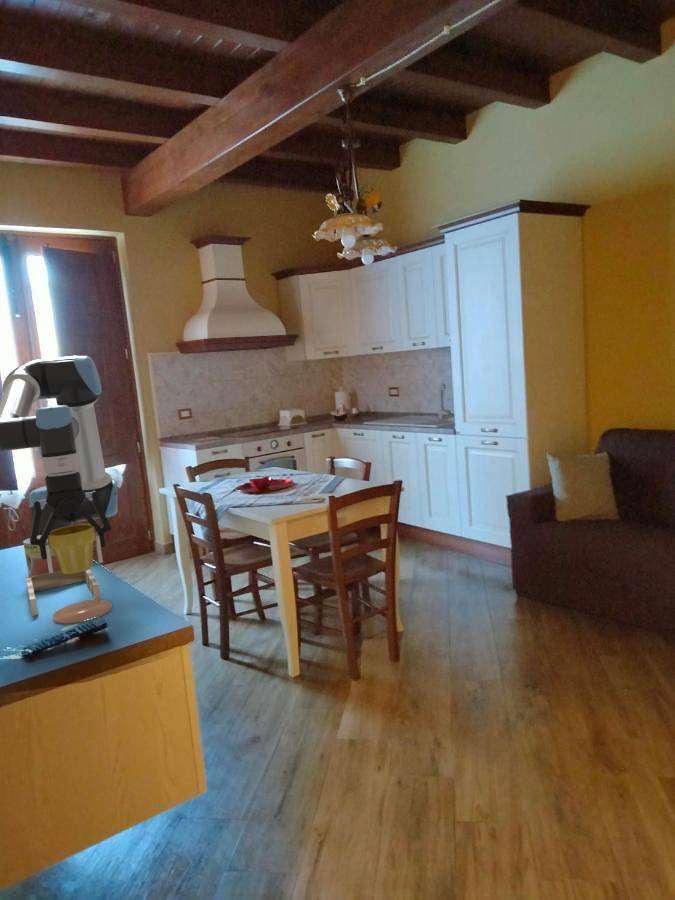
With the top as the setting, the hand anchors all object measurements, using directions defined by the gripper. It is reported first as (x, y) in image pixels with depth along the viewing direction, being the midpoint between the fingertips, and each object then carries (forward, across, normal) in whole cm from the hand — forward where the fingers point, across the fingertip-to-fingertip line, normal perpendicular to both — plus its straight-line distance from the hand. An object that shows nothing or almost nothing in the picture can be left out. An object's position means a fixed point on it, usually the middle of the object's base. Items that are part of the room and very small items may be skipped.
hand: (76, 566), depth 154 cm
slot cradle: (+11, -3, +18) cm, 22 cm away
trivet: (+11, 0, 0) cm, 11 cm away
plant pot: (+1, 0, 0) cm, 1 cm away
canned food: (+11, -4, +38) cm, 40 cm away
